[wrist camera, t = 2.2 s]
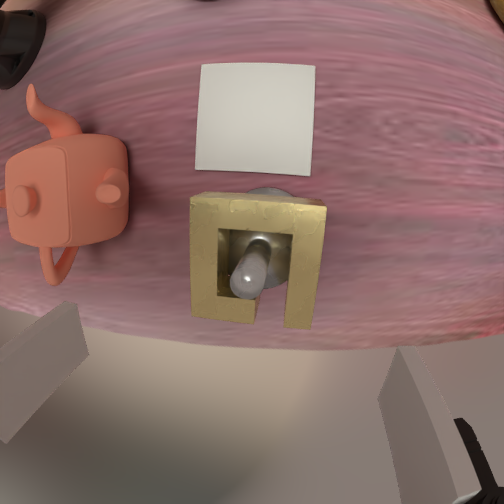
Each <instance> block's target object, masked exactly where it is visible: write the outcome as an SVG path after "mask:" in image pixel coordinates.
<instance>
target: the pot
mask: <svg viewBox="0 0 504 504" xmlns="http://www.w3.org/2000/svg"><path fill="white" fill-rule="evenodd" d="M26 104H27V109H28V111H29V113H30V115H31V116H32V117H33V118H34V119H35V120H37V121H39V122H41V123H43V124H45V125H46V126H47V127H48V129H49V131H50V135H51V139H50V140H47V141H45V142H42V143H40V144H37V145H35V146H33V147H30V148H28V149H26V150H23V151H21V152H19V153H18V154H16V155H14V156H12V157H11V158H10V159H9V160H8V161H7V163H6V168H5V188H4V189H2V190H0V208H7V216H8V223H9V229H10V234H11V236H12V237H13V238H14V239H15V240H16V241H18V242H20V243H23V244H26V245H31V246H36V247H39V252H40V260H41V266H42V270H43V274H44V277H45V279H46V281H47V282H48V283H49V284H50V285H52V286H57V285H59V284H60V283H61V282H62V281H63V280H64V279H65V277H66V276H67V274H68V272H69V270H70V268H71V266H72V263H73V261H74V258H75V256H76V253H77V251H78V248H79V246H82V245H88V244H93V243H97V242H101V241H105V240H108V239H110V238H113V237H115V236H117V235H119V234H120V233H121V232H122V231H123V229H124V228H125V226H126V224H127V222H128V215H129V177H128V157H127V150H126V147H125V145H124V144H123V143H122V142H121V141H120V140H119V139H118V138H115V137H113V136H109V135H103V134H83V133H82V130H81V128H80V126H79V124H78V122H77V121H76V120H75V119H74V118H73V117H72V116H70V115H69V114H67V113H64V112H62V111H59V110H56V109H52V108H50V107H48V106H46V105H44V104H43V103H42V102H41V101H40V100H39V98H38V96H37V93H36V91H35V88H34V86H33V84H30V85H29V86H28V89H27V94H26ZM51 247H66V248H65V250H64V252H63V254H62V256H61V258H60V260H59V261H58V262H57V264H56V265H55V266H54V263H53V257H52V248H51Z"/></svg>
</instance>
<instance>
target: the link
mask: <svg viewBox="0 0 504 504" xmlns="http://www.w3.org/2000/svg"><path fill="white" fill-rule="evenodd" d="M326 211H327V206H326V205H325V204H324V203H323V202H322V200H320V199H309V198H298V197H287V196H275V195H261V194H246V193H229V192H209V191H206V192H203V193H200V194H197V195H194V196H191V197H190V286H191V314H192V316H194V317H201V318H208V319H215V320H223V321H231V322H239V323H247V324H254V321H255V317H256V313H257V309H258V305H259V301H260V295H259V296H257V297H256V298H253V299H242V298H239V297H238V296H236V295H235V294H234V293H233V291H232V290H231V287H230V278H231V276H228V265H229V234H230V229H237V230H249V231H261V232H273V233H284V234H292V241H291V252H290V262H289V272H288V282H287V291H286V300H285V313H284V327H286V328H297V329H310V328H311V323H312V317H313V310H314V304H315V298H316V291H317V284H318V277H319V270H320V262H321V255H322V247H323V238H324V230H325V220H326Z"/></svg>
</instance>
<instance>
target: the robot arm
mask: <svg viewBox="0 0 504 504" xmlns="http://www.w3.org/2000/svg"><path fill="white" fill-rule="evenodd" d="M5 1H6V0H0V8H1V7H2V5H3V4H4V3H5ZM45 28H46V20H45V17H44V15H43V14H42V13H40V12H37V11H35V10H15V11H2V10H0V89H8V88H11V87H12V86H14V85H15V84H16V83H17V82H18V81H19V80H20V79H21V78H22V77H23V76H24V74H25V73H26V72H27V70H28V69H29V67H30V66H31V64H32V62H33V61H34V59H35V57H36V55H37V53H38V51H39V48H40V46H41V43H42V41H43V37H44V34H45ZM88 355H89V353H88V349H87V345H86V342H85V338H84V334H83V330H82V325H81V321H80V317H79V312H78V307H77V304H74V303H71V302H67V301H65V302H63V303H62V304H60V305H59V306H57V307H56V308H54V309H53V310H52V311H50V312H49V313H47V314H46V315H44V316H43V317H42V318H40V319H39V320H37V321H36V322H35V323H34V324H32V325H31V326H29V327H28V328H26V329H25V330H24V331H22V332H21V333H20V334H18V335H17V336H16V337H14V338H13V339H12V340H10V341H9V342H8V343H6V344H5V345H4V346H2V347H1V348H0V440H2V441H3V442H4V443H5V444H7V443H8V441H9V440H10V439H11V438H12V437H13V436H14V435H15V433H16V432H17V431H18V430H19V429H20V428H21V427H22V426H23V425H24V423H25V422H26V421H27V420H28V419H29V418H30V417H31V416H32V415H33V413H34V412H35V411H36V410H37V409H38V408H39V407H40V406H41V405H42V404H43V403H44V401H45V400H46V399H47V398H48V397H49V396H50V395H51V394H52V393H53V392H54V391H55V389H57V388H58V387H59V385H60V384H61V383H62V382H63V381H64V380H65V379H66V378H67V377H68V376H69V375H70V374H71V373H72V372H73V371H74V369H76V368H77V367H78V366H79V365H80V364H81V363H82V362H83V361H84V360H85V359H86V357H87V356H88ZM378 402H379V406H380V409H381V413H382V417H383V421H384V424H385V429H386V433H387V437H388V441H389V445H390V449H391V454H392V458H393V463H394V467H395V472H396V477H397V482H398V487H399V492H400V498H401V503H402V504H504V487H498V485H497V483H496V482H495V479H494V477H493V474H492V471H491V469H490V467H489V464H488V462H487V460H486V457H485V455H484V453H483V451H481V446H480V444H479V442H478V441H477V437H476V435H475V433H474V431H473V429H472V427H471V426H470V425H469V424H468V423H467V422H466V421H465V420H464V419H463V418H457V419H453V418H452V416H451V414H450V412H449V410H448V408H447V406H446V404H445V401H444V399H443V397H442V396H441V393H440V391H439V390H438V387H437V386H436V384H435V382H434V380H433V378H432V376H431V374H430V372H429V370H428V369H427V367H426V365H425V363H424V361H423V359H422V358H421V356H420V354H419V352H418V350H417V349H416V347H415V346H397V349H396V353H395V355H394V358H393V361H392V363H391V366H390V369H389V371H388V374H387V377H386V379H385V382H384V384H383V387H382V389H381V391H380V394H379V396H378Z"/></svg>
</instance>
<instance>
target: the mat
mask: <svg viewBox="0 0 504 504" xmlns="http://www.w3.org/2000/svg"><path fill="white" fill-rule="evenodd" d="M314 95H315V66H309V65H297V64H281V63H218V64H202V68H201V79H200V91H199V104H198V119H197V136H196V158H195V170H222V171H245V172H262V173H277V174H290V175H301V176H310V170H311V155H312V139H313V119H314Z"/></svg>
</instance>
